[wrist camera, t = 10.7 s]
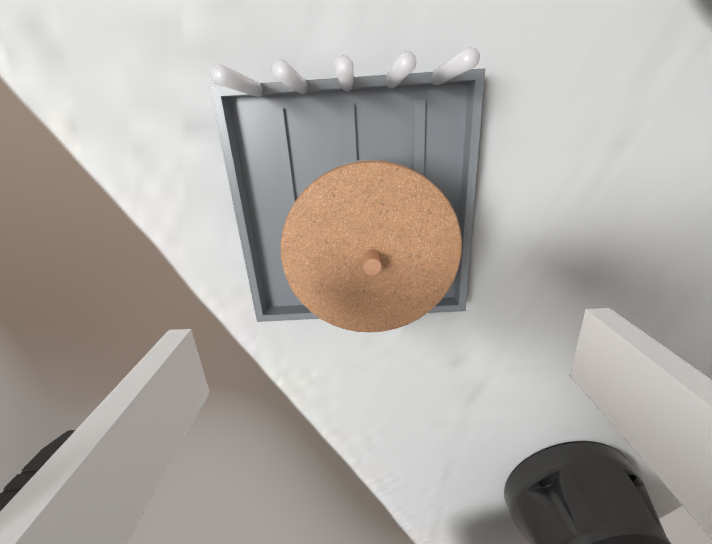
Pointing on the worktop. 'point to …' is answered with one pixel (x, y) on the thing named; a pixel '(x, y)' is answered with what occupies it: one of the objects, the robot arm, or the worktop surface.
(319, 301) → the lidded jar
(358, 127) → the dish rack
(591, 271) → the worktop surface
